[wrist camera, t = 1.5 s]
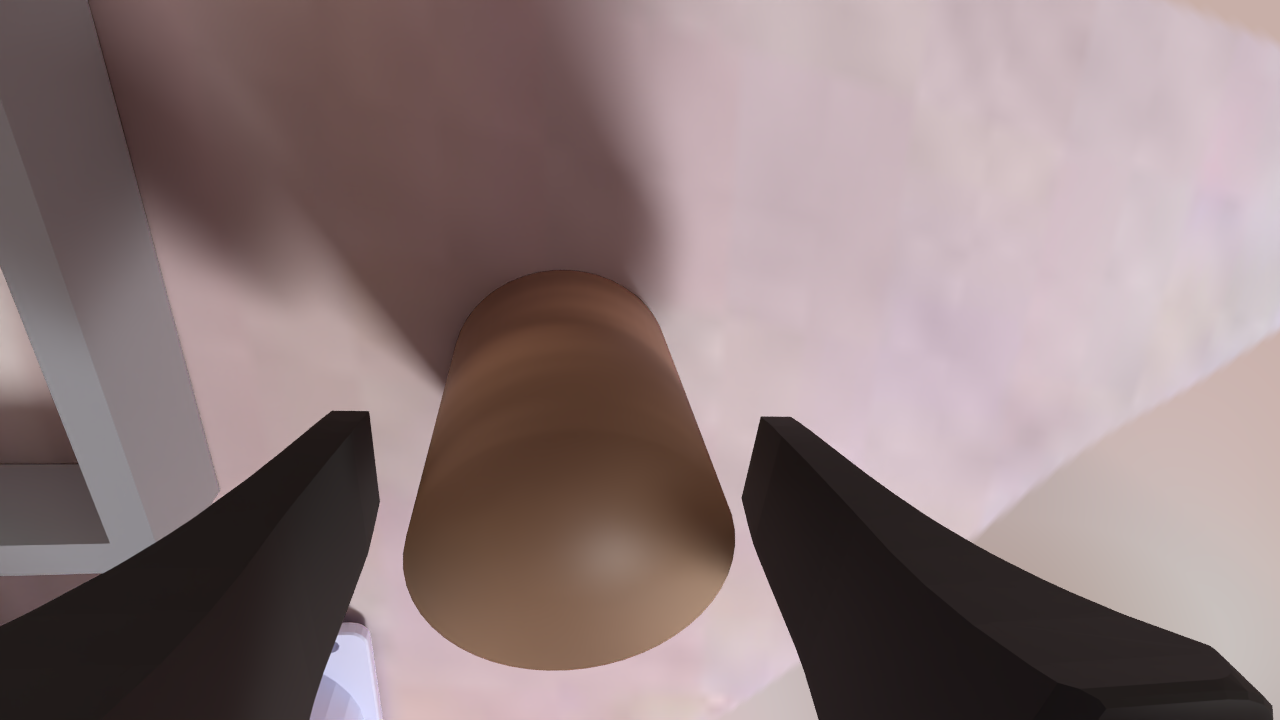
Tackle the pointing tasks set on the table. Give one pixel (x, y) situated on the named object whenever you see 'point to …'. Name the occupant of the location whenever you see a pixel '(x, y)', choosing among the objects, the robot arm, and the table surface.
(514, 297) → the walnut cylinder
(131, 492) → the grey rectangular frame
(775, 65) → the table surface
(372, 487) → the robot arm
